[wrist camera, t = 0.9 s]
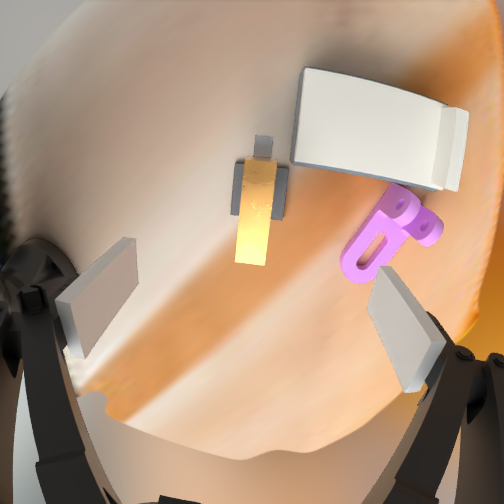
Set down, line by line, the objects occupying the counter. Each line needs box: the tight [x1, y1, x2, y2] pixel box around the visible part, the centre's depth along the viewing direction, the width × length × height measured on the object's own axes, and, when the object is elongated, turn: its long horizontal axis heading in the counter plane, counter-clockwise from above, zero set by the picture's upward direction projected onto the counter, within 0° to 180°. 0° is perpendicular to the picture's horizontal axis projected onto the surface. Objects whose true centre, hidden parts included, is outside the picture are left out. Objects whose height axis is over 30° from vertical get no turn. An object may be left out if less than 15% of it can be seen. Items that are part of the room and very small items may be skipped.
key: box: [235, 135, 277, 265], centre depth 29 cm, size 3×11×9 cm, turn 174°
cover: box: [294, 68, 469, 192], centre depth 24 cm, size 16×9×4 cm, turn 84°
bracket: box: [340, 182, 444, 283], centre depth 33 cm, size 13×6×7 cm, turn 148°
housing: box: [230, 66, 448, 221], centre depth 30 cm, size 22×17×5 cm
